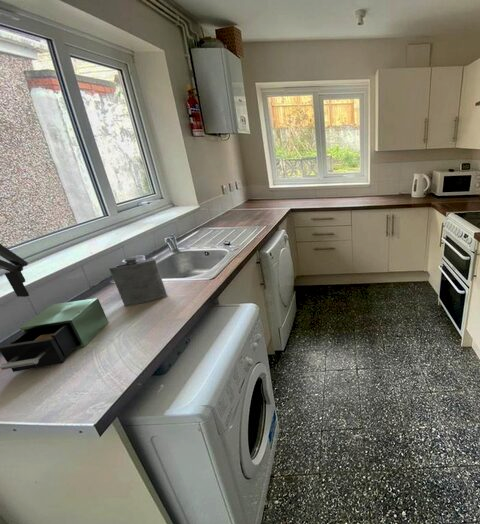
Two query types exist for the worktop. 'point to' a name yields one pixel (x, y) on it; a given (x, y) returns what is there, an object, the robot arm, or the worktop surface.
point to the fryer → (73, 319)
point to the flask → (138, 281)
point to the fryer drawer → (39, 348)
